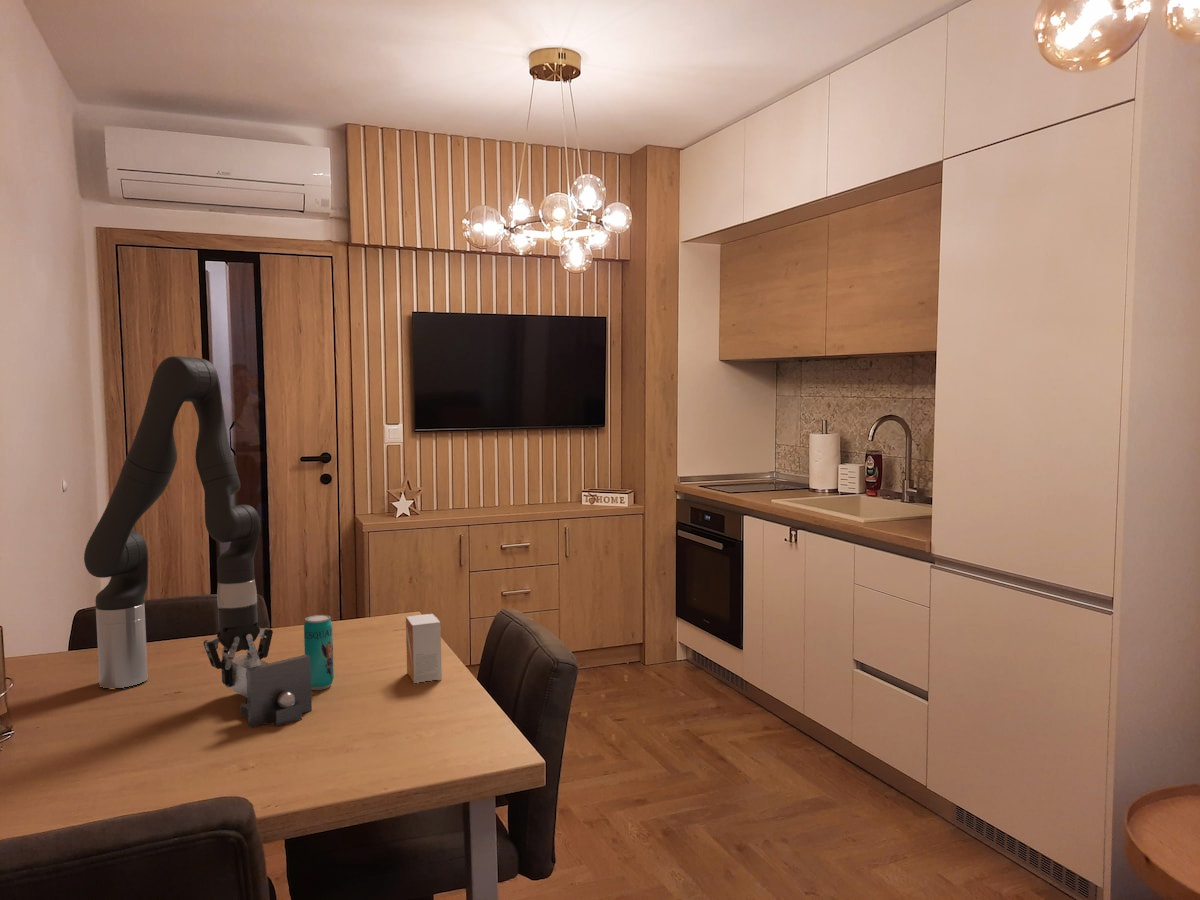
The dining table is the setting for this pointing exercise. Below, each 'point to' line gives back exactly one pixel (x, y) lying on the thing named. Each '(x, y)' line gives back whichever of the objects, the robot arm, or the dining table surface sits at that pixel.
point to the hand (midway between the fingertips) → (240, 682)
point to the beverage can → (319, 650)
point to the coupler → (278, 692)
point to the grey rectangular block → (242, 671)
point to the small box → (423, 648)
